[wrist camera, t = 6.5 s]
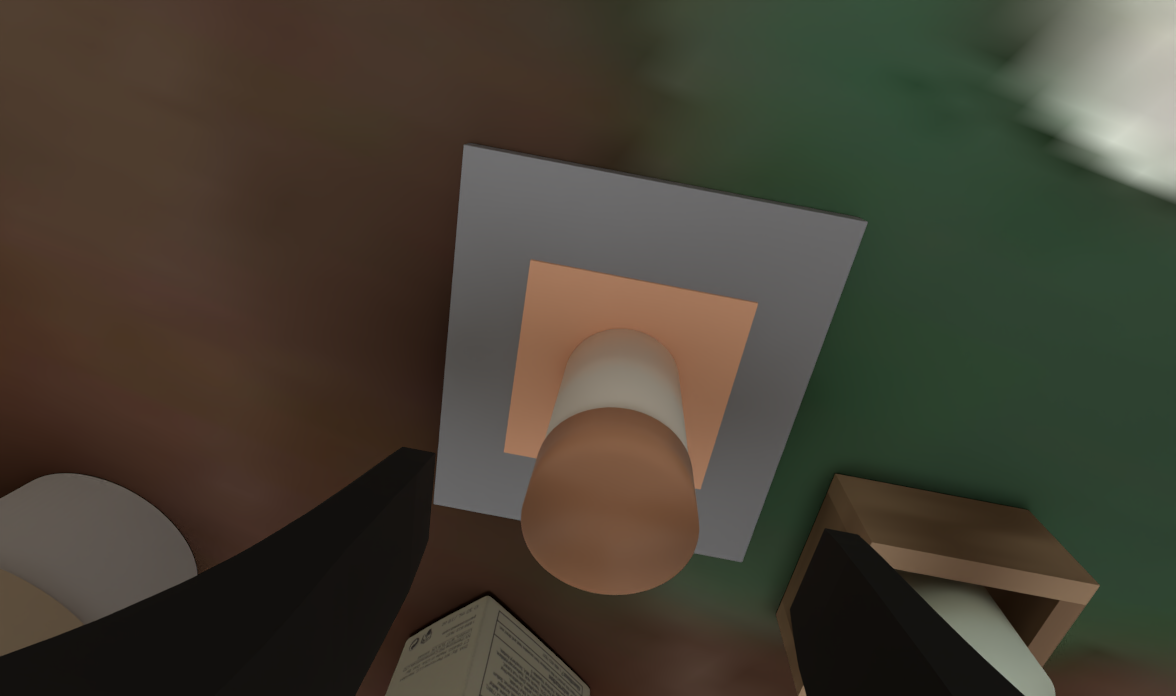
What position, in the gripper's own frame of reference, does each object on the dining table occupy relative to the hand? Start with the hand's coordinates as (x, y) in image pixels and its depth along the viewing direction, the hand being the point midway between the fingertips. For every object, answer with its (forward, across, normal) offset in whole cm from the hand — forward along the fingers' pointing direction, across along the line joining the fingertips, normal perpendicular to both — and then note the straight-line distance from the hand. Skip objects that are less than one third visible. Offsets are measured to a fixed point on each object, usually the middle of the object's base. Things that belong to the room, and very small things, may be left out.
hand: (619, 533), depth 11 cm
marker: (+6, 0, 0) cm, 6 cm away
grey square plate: (+7, 0, 0) cm, 7 cm away
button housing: (+7, -10, +5) cm, 13 cm away
